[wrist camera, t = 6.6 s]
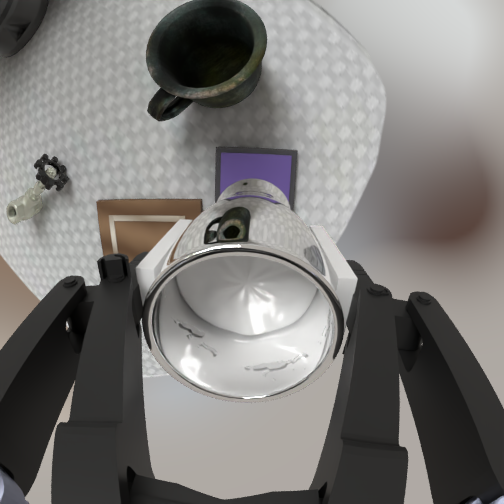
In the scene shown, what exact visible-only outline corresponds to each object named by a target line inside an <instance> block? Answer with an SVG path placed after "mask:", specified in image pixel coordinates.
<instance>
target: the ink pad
mask: <svg viewBox="0 0 504 504" xmlns="http://www.w3.org/2000/svg"><path fill="white" fill-rule="evenodd" d="M296 163H297V150H285V149H268V148H245V147H216V175H215V203H217V200H218V198H219V197H220V195H221V194H222V192H223V191H224V190H225V189H226V188H227V187H228V186H230V185H231V184H233V183H235V182H237V181H239V180H243V179H249V178H255V179H262V180H265V181H268V182H270V183H272V184H274V185H275V186H277V187H278V188H279V189H280V190H281V191H282V192H283V193H284V195H285V196H286V198H287V200H288V202H289V205H290V209H291V210H292V211H293V204H294V191H295V177H296Z"/></svg>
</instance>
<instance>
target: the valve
mask: <svg viewBox="0 0 504 504" xmlns="http://www.w3.org/2000/svg"><path fill="white" fill-rule="evenodd" d="M42 161H43V162H42ZM57 162H58V158H57V157H55V156H54V157H53V158H52V159H51V160H49V159H48V155H46V154H43V156H42V157H41V158H40V160H37V161H36V163H35V164H34V167H35V168H36V169H37V167H39V169H38V173H37V175H36V179H37V180H39V181H38V182H37V183H36V184H35V185H34V188H29V189H28V190H27V192H26V193H25V195H23V196H21V197H19V198H18V199H16V200H13V201H11V202H10V203H9V205H8V206H7V208H6V209H7V217H8V219H9V221H10V222H11V223H13V224H17V223H19V222H21V221H22V220H23V221H24V220H28V219H30V218H31V217H32V216H33V215H36V214H38V213H39V211H40V210H41V209H42V208H43V205H42V199H41V196H40V194H41V193H42V192H43V191H44V190H45V188H46V189H47V190H50V189H51V188H52V186H53V185H57V188H56V190H57V191H61V189H62V188H63V187H64V185H65V184H66V183H67V182H68V180H69V178H68V177H67V176H66V175H63V173H64V172H65V170H66V167H65V166H64V165H61V166H59V165H58V164H57ZM45 165H51V166H53V167H54V168H55V169H56V170H57V171H56V170H55V169H54V168H53V167H49V168H48V169H47V170H46V171H45V168H44V167H45ZM58 174H59V179H58V180H54V177H56V176H57V175H58ZM61 181H63V183H62V182H61Z"/></svg>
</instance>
